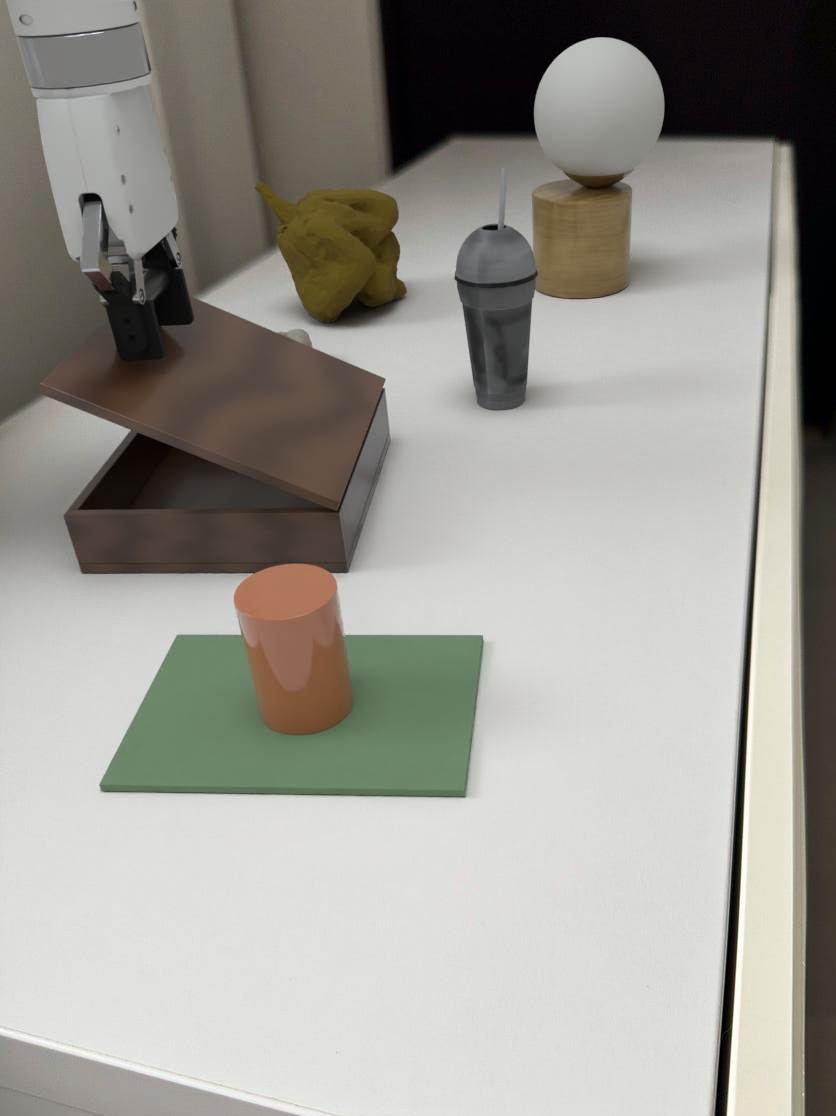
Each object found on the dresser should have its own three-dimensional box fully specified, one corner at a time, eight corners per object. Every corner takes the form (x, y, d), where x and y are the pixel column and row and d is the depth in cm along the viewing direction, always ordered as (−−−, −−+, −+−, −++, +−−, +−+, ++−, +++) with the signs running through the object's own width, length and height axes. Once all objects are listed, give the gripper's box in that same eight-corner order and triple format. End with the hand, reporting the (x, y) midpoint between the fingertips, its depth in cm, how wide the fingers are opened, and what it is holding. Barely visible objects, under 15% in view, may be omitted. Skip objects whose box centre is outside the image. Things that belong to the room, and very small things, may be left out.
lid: (37, 393, 68) (50, 318, 65) (146, 287, 85) (161, 223, 82) (336, 511, 72) (362, 445, 69) (382, 386, 89) (405, 329, 86)
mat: (100, 791, 57) (98, 784, 57) (178, 640, 69) (176, 634, 68) (465, 796, 56) (464, 790, 55) (483, 641, 67) (483, 634, 67)
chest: (81, 573, 76) (62, 515, 73) (172, 442, 94) (160, 391, 91) (347, 572, 74) (339, 512, 72) (390, 439, 92) (385, 387, 89)
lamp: (595, 253, 133) (599, 26, 119) (681, 276, 124) (696, 33, 110) (505, 282, 126) (497, 43, 111) (589, 308, 117) (592, 52, 102)
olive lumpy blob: (265, 314, 120) (244, 184, 112) (350, 279, 129) (336, 156, 121) (353, 337, 114) (338, 200, 105) (437, 298, 122) (429, 169, 114)
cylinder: (248, 734, 60) (221, 619, 55) (271, 674, 64) (247, 563, 60) (345, 735, 59) (326, 620, 55) (361, 675, 64) (345, 562, 59)
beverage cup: (448, 395, 99) (432, 167, 87) (516, 378, 102) (509, 155, 90) (484, 422, 94) (472, 184, 82) (554, 404, 96) (552, 170, 85)
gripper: (82, 47, 73) (148, 303, 84) (-33, 90, 60) (63, 390, 70) (186, 39, 73) (239, 299, 83) (94, 81, 59) (172, 386, 69)
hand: (158, 338), depth 77 cm, fingers closed on lid, 6 cm apart
